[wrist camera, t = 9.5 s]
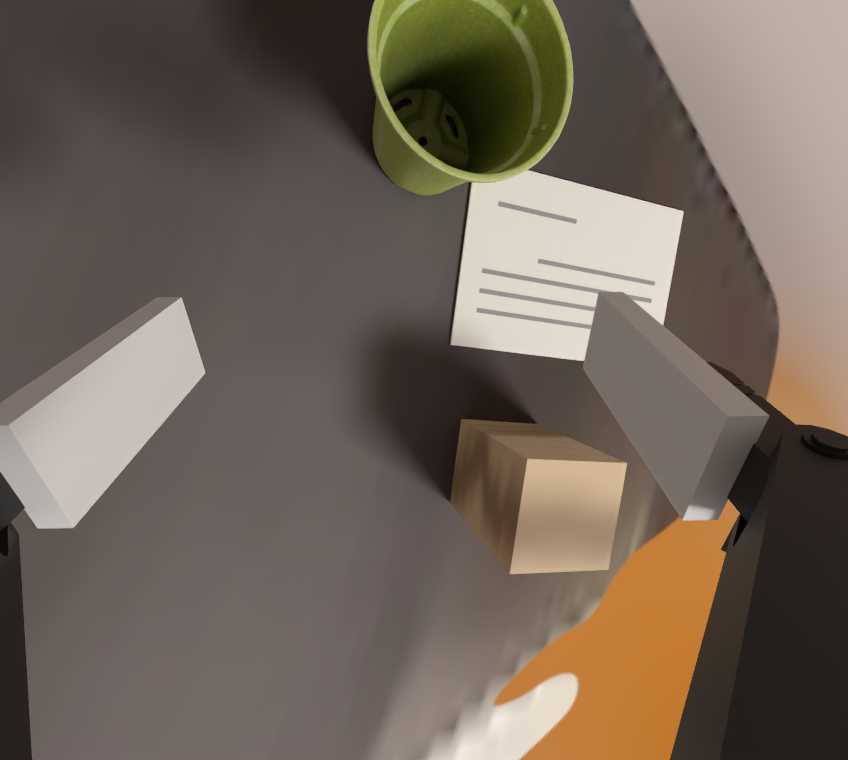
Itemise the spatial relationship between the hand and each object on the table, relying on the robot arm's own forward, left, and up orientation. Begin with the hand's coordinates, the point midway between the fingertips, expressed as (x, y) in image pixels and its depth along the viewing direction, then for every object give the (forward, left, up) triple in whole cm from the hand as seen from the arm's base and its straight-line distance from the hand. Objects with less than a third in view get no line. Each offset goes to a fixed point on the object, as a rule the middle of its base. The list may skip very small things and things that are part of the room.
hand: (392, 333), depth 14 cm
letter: (-6, +15, -13) cm, 21 cm away
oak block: (+8, +11, -13) cm, 19 cm away
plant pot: (-12, +3, -13) cm, 18 cm away
